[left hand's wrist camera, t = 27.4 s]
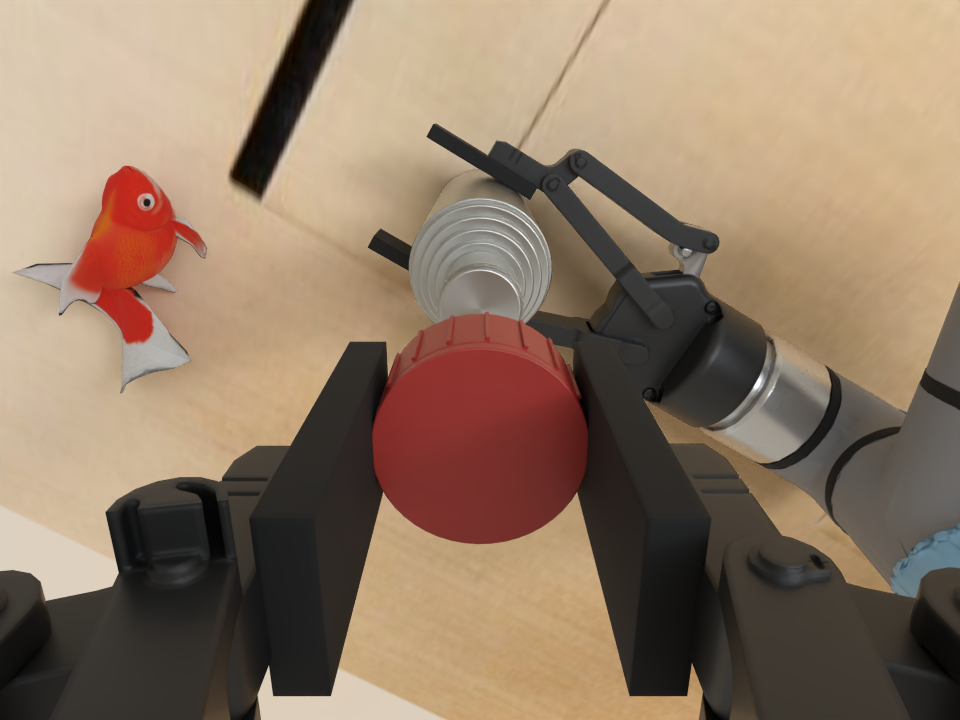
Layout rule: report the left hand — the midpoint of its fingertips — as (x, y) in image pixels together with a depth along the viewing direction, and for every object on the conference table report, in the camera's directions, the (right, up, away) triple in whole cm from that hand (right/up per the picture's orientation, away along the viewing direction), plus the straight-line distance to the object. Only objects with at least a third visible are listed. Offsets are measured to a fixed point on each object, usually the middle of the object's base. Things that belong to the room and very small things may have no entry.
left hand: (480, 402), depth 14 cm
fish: (-22, +7, +32) cm, 39 cm away
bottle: (0, +11, +31) cm, 32 cm away
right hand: (-4, +11, +24) cm, 26 cm away
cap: (0, -1, -2) cm, 2 cm away
